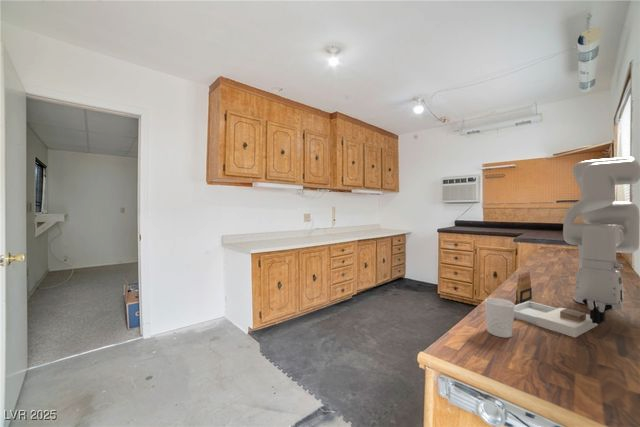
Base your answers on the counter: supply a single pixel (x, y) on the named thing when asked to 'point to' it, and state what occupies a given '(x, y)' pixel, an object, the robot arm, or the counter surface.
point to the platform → (564, 323)
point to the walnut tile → (573, 315)
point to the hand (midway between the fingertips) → (597, 322)
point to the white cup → (499, 316)
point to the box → (530, 311)
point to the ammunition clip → (523, 288)
